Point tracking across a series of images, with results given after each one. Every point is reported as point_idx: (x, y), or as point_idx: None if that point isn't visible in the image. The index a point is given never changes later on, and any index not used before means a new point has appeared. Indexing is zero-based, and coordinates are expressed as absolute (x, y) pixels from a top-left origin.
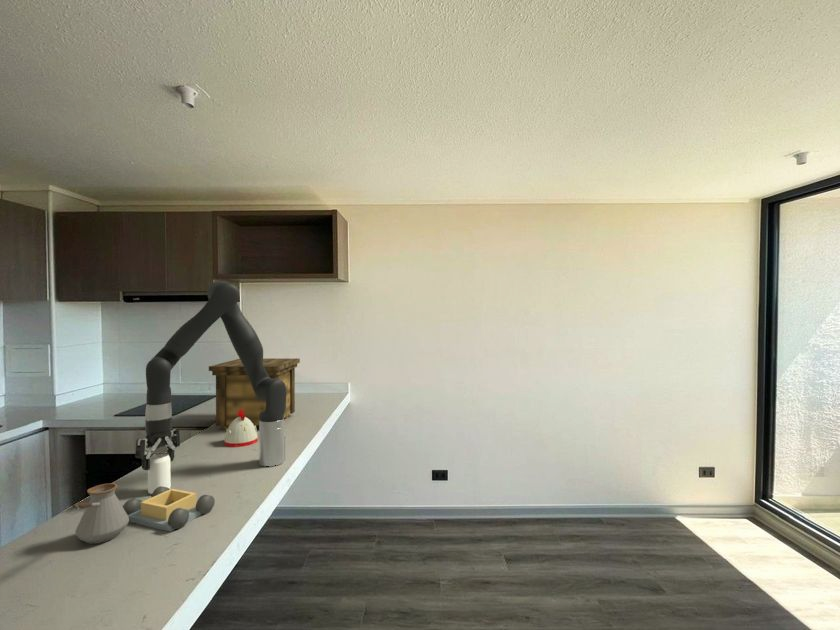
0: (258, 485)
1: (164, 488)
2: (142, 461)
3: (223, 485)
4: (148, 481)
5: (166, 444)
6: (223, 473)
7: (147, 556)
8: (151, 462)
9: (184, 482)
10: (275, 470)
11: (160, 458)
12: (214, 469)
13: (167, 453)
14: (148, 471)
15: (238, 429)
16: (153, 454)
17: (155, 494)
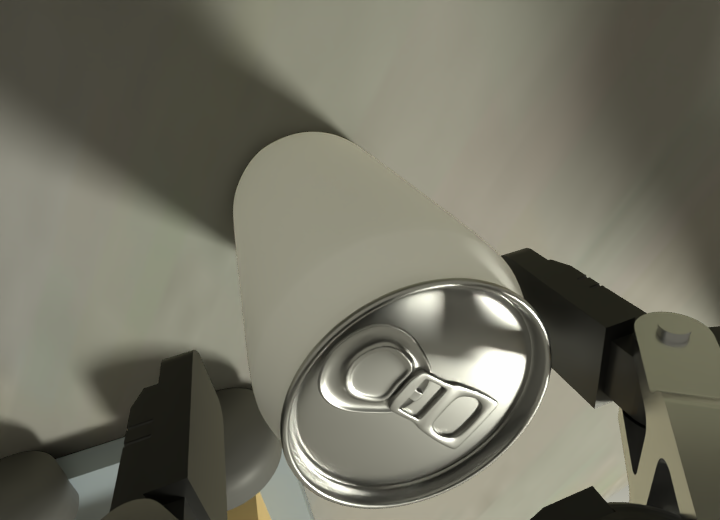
0: (563, 491)
1: (238, 500)
2: (121, 496)
3: None
4: (236, 246)
5: (659, 501)
6: (650, 259)
7: None
8: (269, 425)
9: (482, 201)
10: None
11: (371, 489)
12: (700, 148)
13: (535, 386)
14: (241, 302)
15: None
16: (415, 290)
17: None
